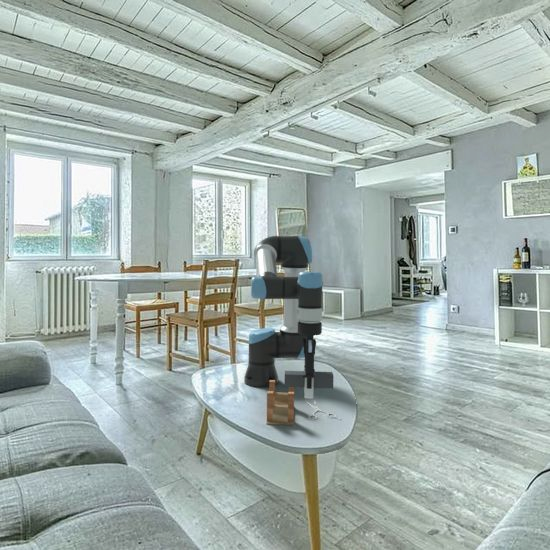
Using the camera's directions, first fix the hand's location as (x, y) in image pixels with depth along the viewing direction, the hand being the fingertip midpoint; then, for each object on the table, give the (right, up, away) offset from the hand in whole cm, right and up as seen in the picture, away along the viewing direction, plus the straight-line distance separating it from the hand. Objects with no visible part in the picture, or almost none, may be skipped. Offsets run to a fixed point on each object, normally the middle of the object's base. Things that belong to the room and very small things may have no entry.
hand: (308, 395), depth 120 cm
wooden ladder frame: (-8, -11, +14) cm, 20 cm away
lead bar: (0, +3, 0) cm, 3 cm away
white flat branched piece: (+5, -12, +19) cm, 23 cm away
